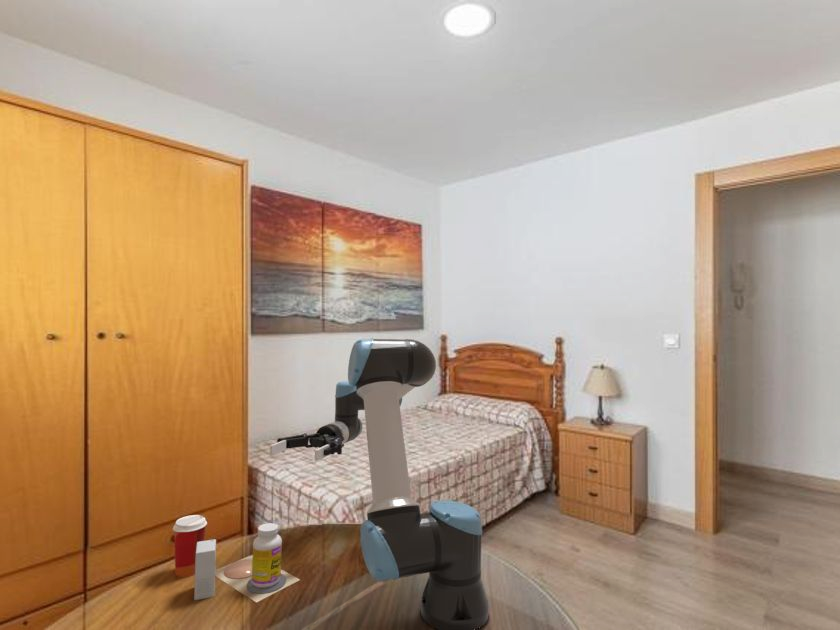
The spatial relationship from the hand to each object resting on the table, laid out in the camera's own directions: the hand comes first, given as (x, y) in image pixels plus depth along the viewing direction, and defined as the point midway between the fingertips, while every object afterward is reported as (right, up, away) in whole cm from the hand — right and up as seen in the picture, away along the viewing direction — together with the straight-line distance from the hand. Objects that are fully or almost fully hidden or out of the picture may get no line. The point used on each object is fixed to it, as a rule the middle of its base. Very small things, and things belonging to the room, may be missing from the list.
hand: (292, 453), depth 119 cm
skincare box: (-16, -29, -14) cm, 37 cm away
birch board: (-7, -30, -7) cm, 31 cm away
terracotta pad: (-11, -28, -4) cm, 31 cm away
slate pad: (-3, -28, -10) cm, 30 cm away
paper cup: (-25, -30, -6) cm, 39 cm away
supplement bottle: (-4, -28, -10) cm, 30 cm away
